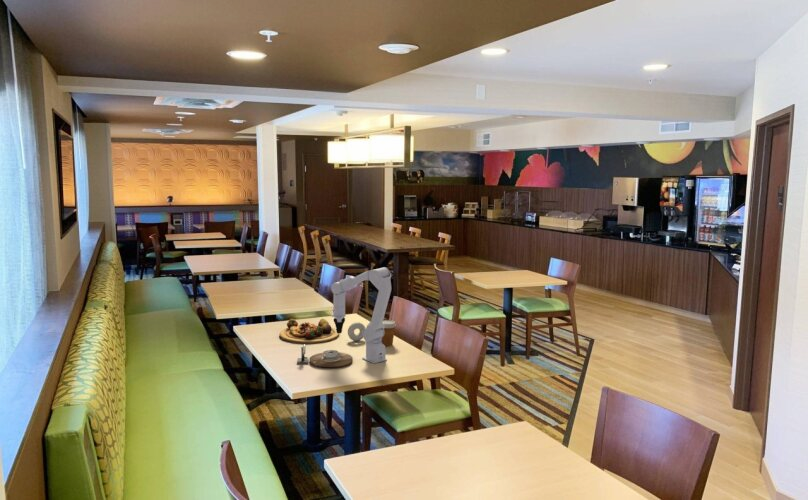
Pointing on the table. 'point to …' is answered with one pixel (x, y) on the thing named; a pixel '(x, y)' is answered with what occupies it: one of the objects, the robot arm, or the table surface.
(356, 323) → the donut
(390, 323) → the disposable coffee cup
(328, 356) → the cover
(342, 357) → the turntable
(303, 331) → the wooden plate with food
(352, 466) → the table surface
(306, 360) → the dial gauge
